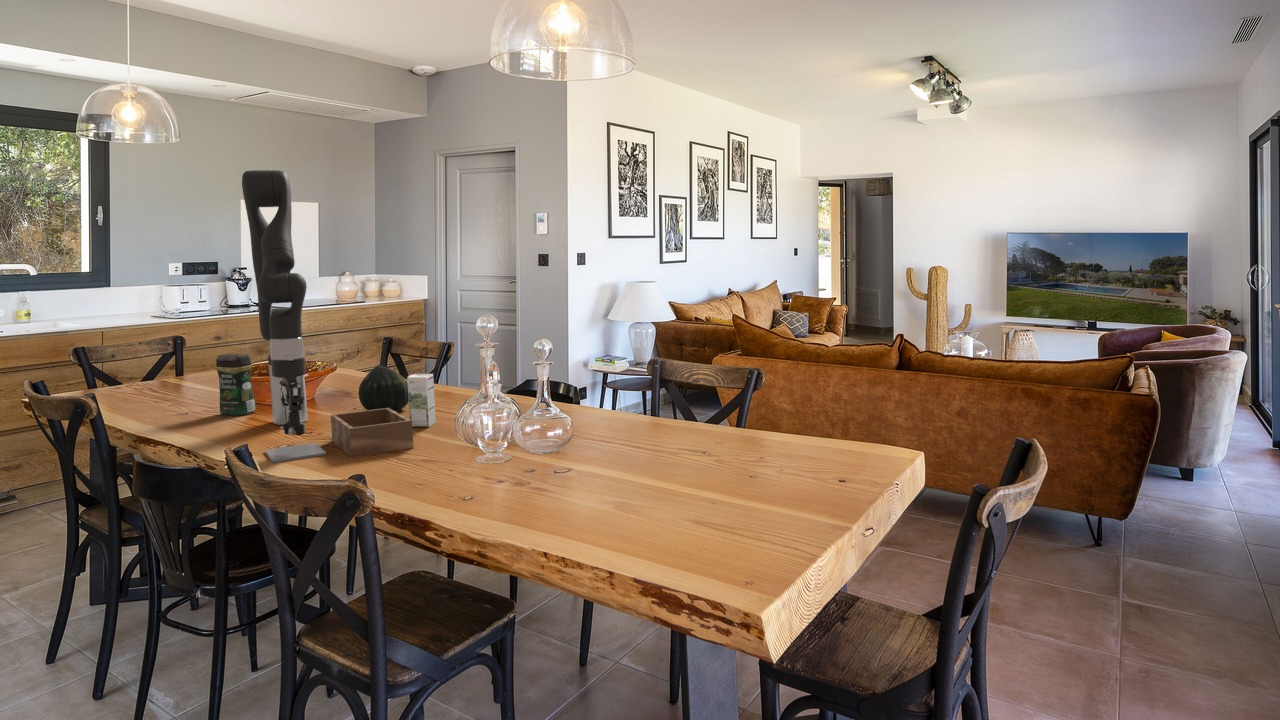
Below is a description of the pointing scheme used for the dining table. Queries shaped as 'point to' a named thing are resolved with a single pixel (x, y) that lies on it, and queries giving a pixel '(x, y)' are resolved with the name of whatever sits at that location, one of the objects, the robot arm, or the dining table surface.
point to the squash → (383, 390)
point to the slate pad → (294, 452)
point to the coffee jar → (235, 384)
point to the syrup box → (421, 400)
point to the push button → (286, 427)
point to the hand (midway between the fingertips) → (292, 424)
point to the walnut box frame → (371, 432)
